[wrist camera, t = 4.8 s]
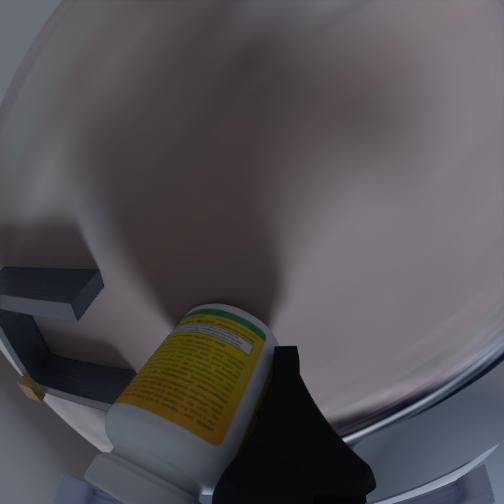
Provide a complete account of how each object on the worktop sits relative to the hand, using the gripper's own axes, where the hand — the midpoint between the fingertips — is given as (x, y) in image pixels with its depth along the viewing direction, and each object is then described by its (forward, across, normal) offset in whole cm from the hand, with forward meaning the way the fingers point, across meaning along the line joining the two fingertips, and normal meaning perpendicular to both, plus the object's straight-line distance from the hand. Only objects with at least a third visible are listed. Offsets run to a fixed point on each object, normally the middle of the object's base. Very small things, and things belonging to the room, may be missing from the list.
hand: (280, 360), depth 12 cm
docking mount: (+2, +13, +1) cm, 13 cm away
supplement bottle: (+2, +2, +1) cm, 3 cm away
